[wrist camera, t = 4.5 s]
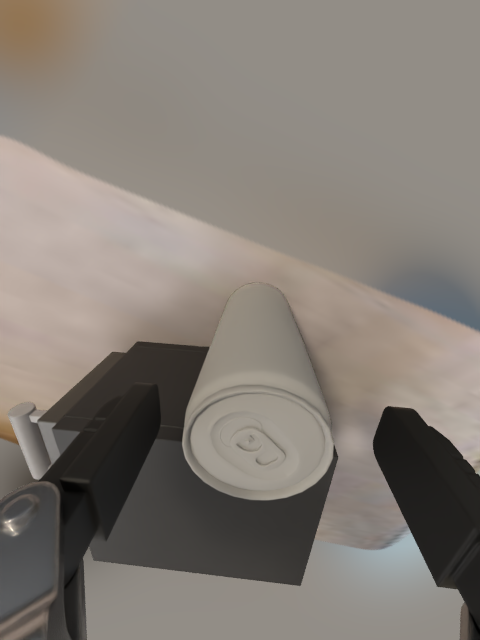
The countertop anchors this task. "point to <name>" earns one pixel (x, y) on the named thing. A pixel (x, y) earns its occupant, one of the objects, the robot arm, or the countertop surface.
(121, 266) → the countertop surface
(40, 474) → the handled box lid
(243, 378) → the beverage can
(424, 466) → the robot arm
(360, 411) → the countertop surface
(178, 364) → the dark grey lidded box
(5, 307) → the countertop surface
